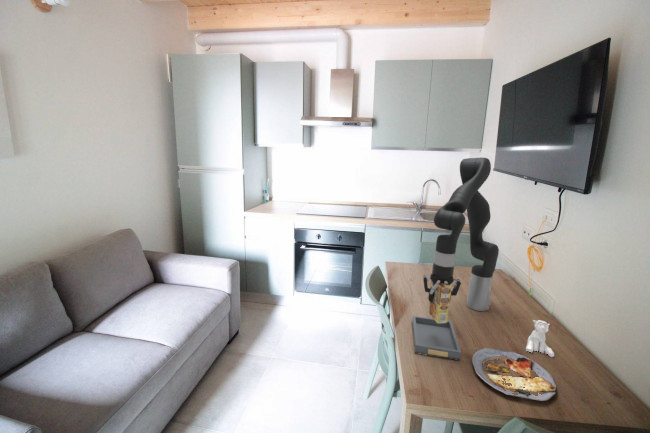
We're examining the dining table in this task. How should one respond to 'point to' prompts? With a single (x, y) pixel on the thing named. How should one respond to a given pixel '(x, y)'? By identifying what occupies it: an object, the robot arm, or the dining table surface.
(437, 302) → the candy box
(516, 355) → the food plate
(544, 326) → the sitting furry creature
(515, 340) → the dining table surface
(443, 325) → the labelled tray
